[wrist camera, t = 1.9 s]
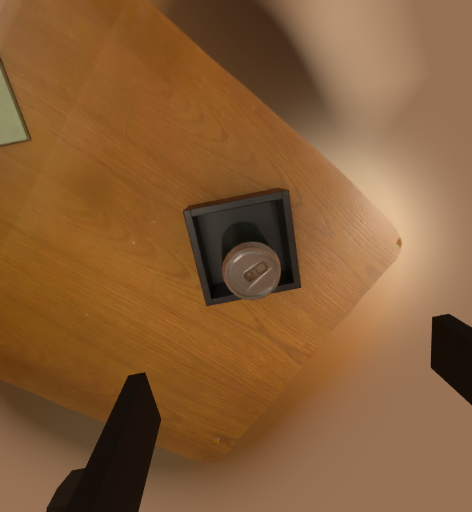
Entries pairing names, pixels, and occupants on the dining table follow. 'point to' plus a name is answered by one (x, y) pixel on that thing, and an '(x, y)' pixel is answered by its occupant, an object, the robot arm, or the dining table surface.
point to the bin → (228, 214)
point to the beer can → (249, 262)
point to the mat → (10, 114)
